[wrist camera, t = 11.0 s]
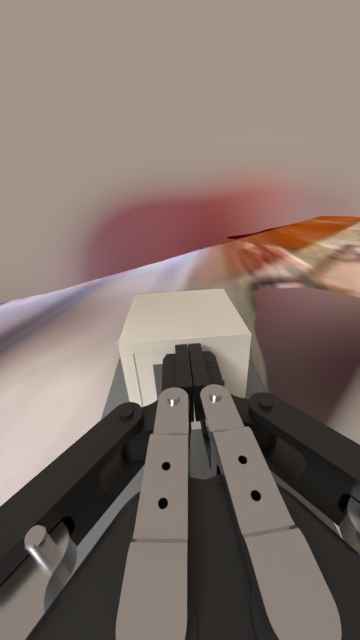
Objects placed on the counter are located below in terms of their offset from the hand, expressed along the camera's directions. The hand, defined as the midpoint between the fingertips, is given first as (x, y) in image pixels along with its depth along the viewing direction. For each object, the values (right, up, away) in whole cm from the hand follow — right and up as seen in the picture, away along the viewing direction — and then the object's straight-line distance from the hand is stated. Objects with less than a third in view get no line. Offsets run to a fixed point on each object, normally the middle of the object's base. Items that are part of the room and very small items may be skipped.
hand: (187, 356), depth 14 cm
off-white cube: (0, -3, +2) cm, 3 cm away
